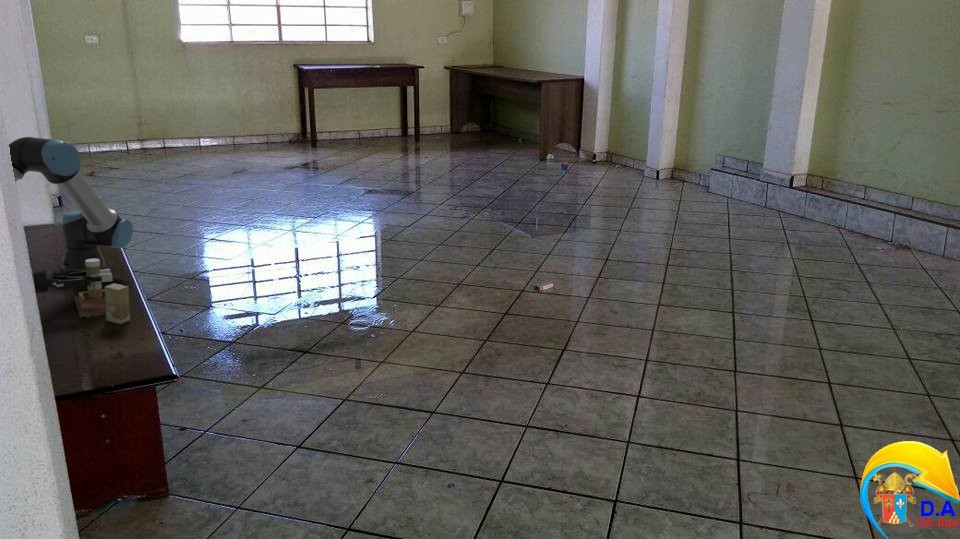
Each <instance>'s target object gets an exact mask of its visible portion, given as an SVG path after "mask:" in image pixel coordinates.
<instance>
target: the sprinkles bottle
mask: <svg viewBox="0 0 960 539" xmlns="http://www.w3.org/2000/svg"><path fill="white" fill-rule="evenodd" d="M85 266H86V273H87V274H86V276H91V275H95V274H100V260H99V259H87V260H85ZM86 287H87V291H88V297H89V298H91V299H96V298H101V297H102V296H103V295H102V290H103V289H102V282H97V283H91V286H86Z"/></svg>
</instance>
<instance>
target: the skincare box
mask: <svg viewBox="0 0 960 539" xmlns="http://www.w3.org/2000/svg"><path fill="white" fill-rule="evenodd" d="M104 289H105V300H106V315H105V316H106V317H105V318H106V321H107V322H108V321H109V322H111V323H114V324H115V323H116V324H120V325H123V324H124V323H127V322H130V321H131V314H130V312H131V311H130V309H131V308H130V294H129V290H130V289H129V286H128V285H127V286H126V285H122V284H118V283H111V284H109V285H106V286H104Z"/></svg>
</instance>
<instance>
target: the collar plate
mask: <svg viewBox="0 0 960 539" xmlns="http://www.w3.org/2000/svg"><path fill="white" fill-rule="evenodd" d="M102 295H103V296H102V297H101V298H96V299H91V298H89V297H88V290H86V291H78V296H74V302H76V303H75V305H76V309H78V310H77V312H78V316H79V319H82V318H81V317H86V318H92V317H91V316H94V317H100V315H103V316H106V300H105V288H104V289H102Z"/></svg>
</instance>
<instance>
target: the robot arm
mask: <svg viewBox="0 0 960 539" xmlns="http://www.w3.org/2000/svg"><path fill="white" fill-rule="evenodd" d="M8 145H9V147H10V155H11V161H12V166H13V172H14V177H15V182H16V183H17V181H19V180H22V179H23V177H24V176H25V174H26V173H28V172H36V173H41V175H42V176H44V178H45V179H46V180H47V181H48V182H49V183H51V184H54V185H57V186H58V187H59V189H60V190H61V191H62V192H63V194H64V195H65V197H67V198H68V200H69V201H70V202H71V203H72V204H73V206H74V207H75V208H76V209H77V210H73V211H72V210H71V211H68V212H65V214H63V215H62V230H63V237H64V245H65V250H64V255H63V258H62V262H61V268H62V270H53V273H50V274H47V271H46V269H38V270H37V269H36V270H33V271H32V272H33V277H34V283H35V289H36V292H35V293H36V294H39V293H40V294H41V293H47V292H49V290H48V289H49V287H51V288H53V287H54V288H56V290H61V289H66V288H78V287H87V286H91V283H97V282H101V283H106V282H113V273H112V272H111V269H110V268H105V267H106V263H105V258H104V257H103V254H102V252H101V250H100V247H107V248H113V249H123V248H125V247H127V246H128V245H129V243H130V242H131V241H132V240H131V239H132V238H133V233H134V226H133V224H132V221H131V220H129V219H127V218H123V217H122V218H121V217H120V215H119V214H118V213H117V211H115V210H114V209H112V208H109V207H107V205H106V204H105V203H104V202H103V200H102V199H101V198H100V197H99V195H98V194H97V192H96V191H95V190H94V189H93V187H92V186H91V185H90V183H89V182H88V180H87V179H86V177H84V175H83V174H82V173H81V172H80V169H81V159H80V158H81V156H80V152H79V151H78V149H77V148H76V147H75V146H74V145H73V144H72V143H70V142H68V141H64V140H61V139H56V138H55V139H52V138H43V137H34V136H33V137H32V136H23V137H20V138H19V137H18V138H17V139H15V140H14V141H12V142H10V143H9V144H8ZM99 246H100V247H99ZM87 259H99V260H100V274H95V275H91V276H86V274H87V273H86V266H85V260H87ZM104 268H105V269H104Z"/></svg>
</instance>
